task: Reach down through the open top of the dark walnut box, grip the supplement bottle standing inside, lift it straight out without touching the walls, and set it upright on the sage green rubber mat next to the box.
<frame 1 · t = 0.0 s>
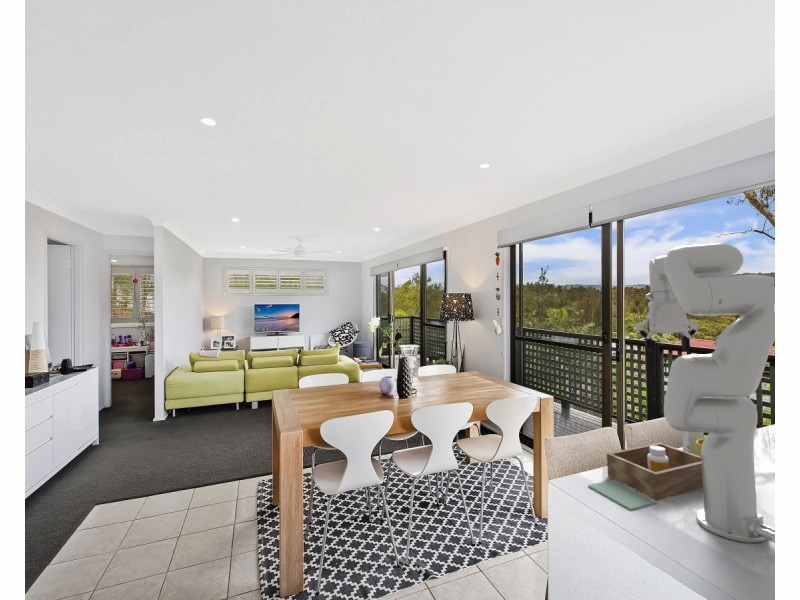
hand: (667, 350, 122), 37 cm above the kitchen island, tool pointing down, fingers open, 9 cm apart
supplement bottle: (659, 481, 114), resting in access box
plant pot: (719, 477, 115), on the kitchen island
mat: (620, 494, 107), on the kitchen island
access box: (659, 480, 114), on the kitchen island
skincare box: (694, 462, 126), on the kitchen island
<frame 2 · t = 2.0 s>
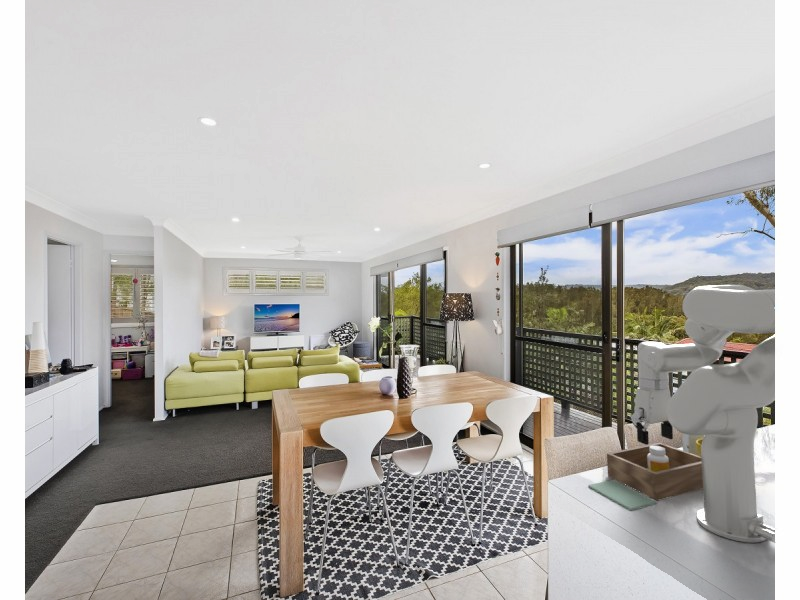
hand: (655, 440, 115), 12 cm above the kitchen island, tool pointing down, fingers open, 9 cm apart
nothing on the kitchen island moved.
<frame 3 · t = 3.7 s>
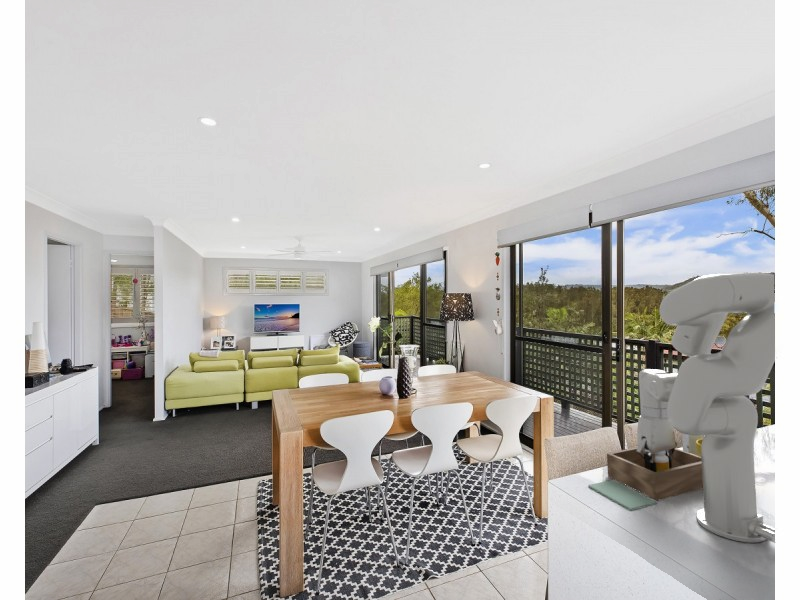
hand: (658, 472, 114), 2 cm above the kitchen island, tool pointing down, fingers closed on supplement bottle, 5 cm apart
supplement bottle: (659, 481, 114), resting in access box, touching gripper
everything else where it was.
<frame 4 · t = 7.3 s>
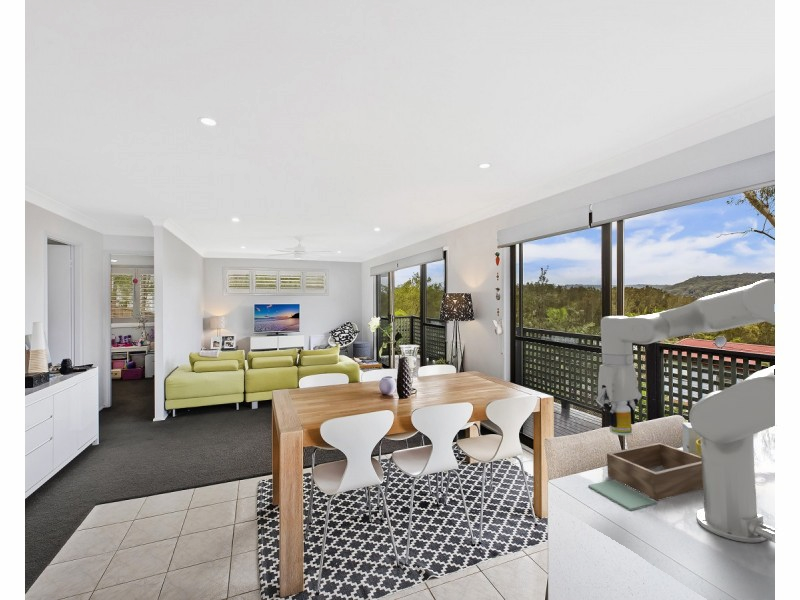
hand: (620, 423, 108), 19 cm above the kitchen island, tool pointing down, fingers closed on supplement bottle, 5 cm apart
supplement bottle: (620, 433, 108), point 17 cm above the kitchen island, touching gripper
everything else where it was.
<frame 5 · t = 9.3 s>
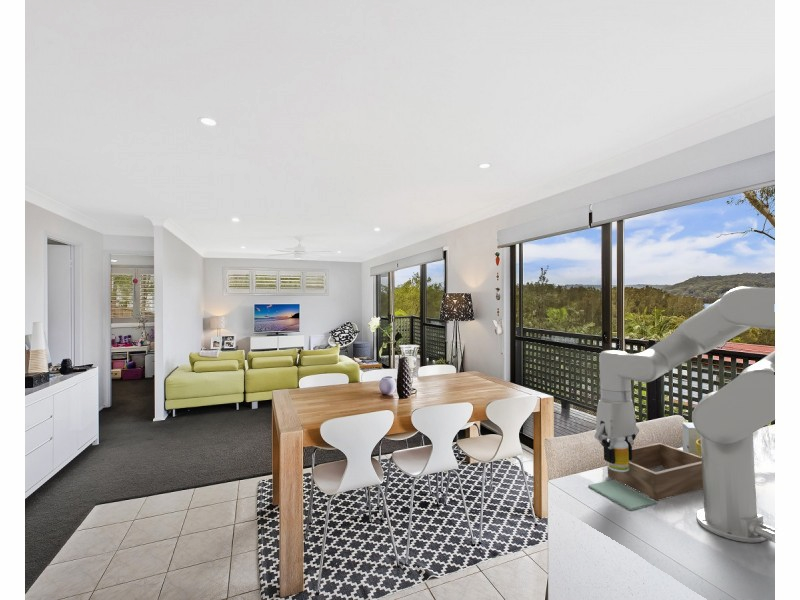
hand: (618, 459, 107), 10 cm above the kitchen island, tool pointing down, fingers closed on supplement bottle, 5 cm apart
supplement bottle: (618, 469, 107), point 7 cm above the kitchen island, touching gripper
everything else where it was.
when the fingers open (4 cm above the kitchen island, at t = 10.9 s): supplement bottle stays where it is, resting on mat.
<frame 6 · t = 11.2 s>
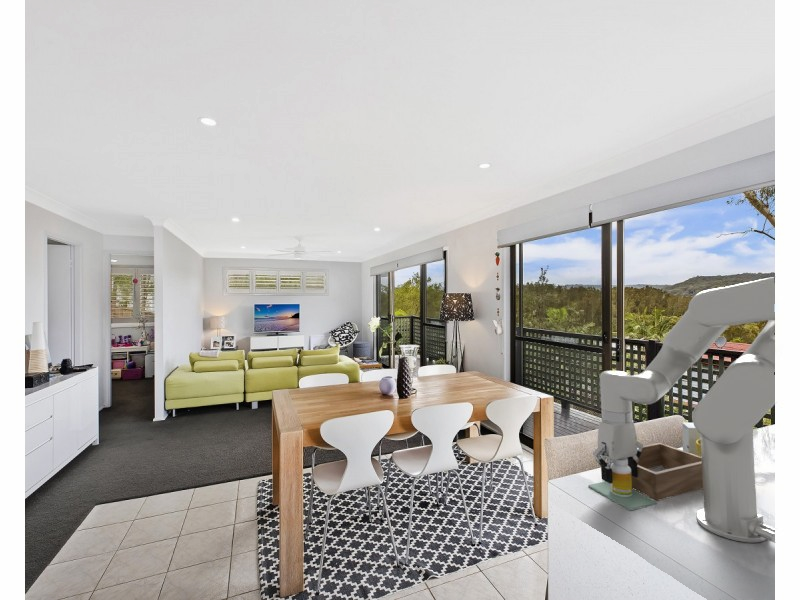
hand: (619, 478, 107), 5 cm above the kitchen island, tool pointing down, fingers open, 8 cm apart
supplement bottle: (621, 493, 107), resting on mat
everything else where it was.
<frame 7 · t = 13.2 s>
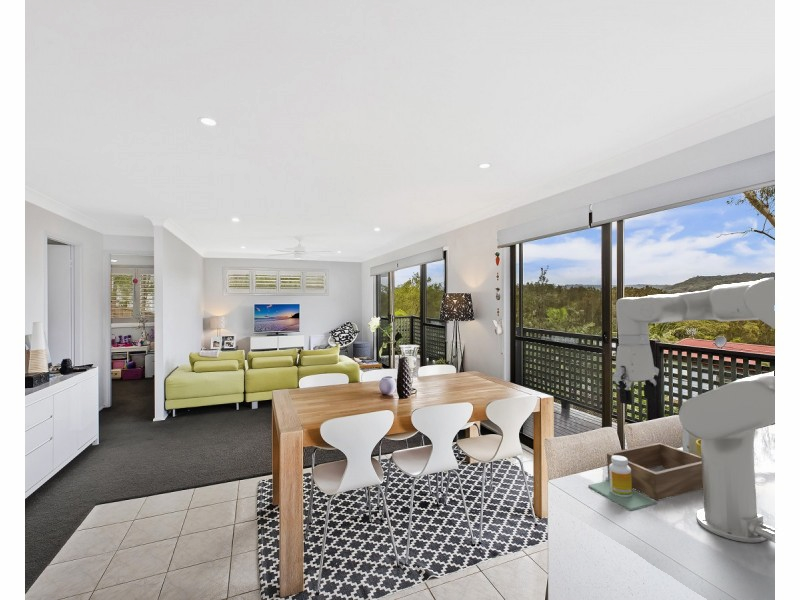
hand: (638, 401, 109), 25 cm above the kitchen island, tool pointing down, fingers open, 9 cm apart
nothing on the kitchen island moved.
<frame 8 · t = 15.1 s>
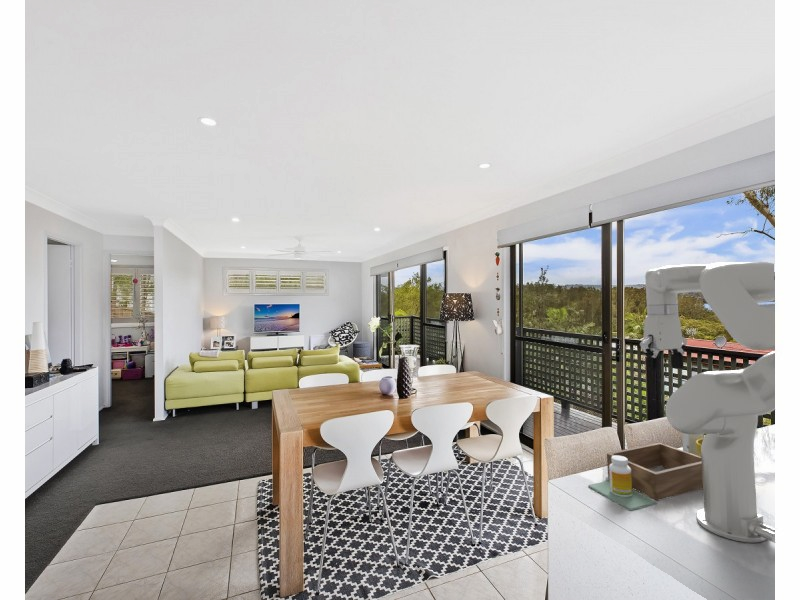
hand: (665, 369, 112), 33 cm above the kitchen island, tool pointing down, fingers open, 9 cm apart
nothing on the kitchen island moved.
at the end: supplement bottle inside the target area on the mat (0.1 cm from its centre), point 0.3 cm above the mat's base; supplement bottle tilted 0°; the gripper is holding nothing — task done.
